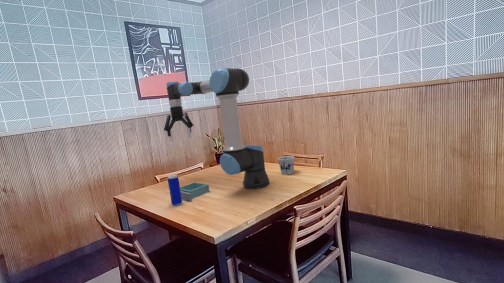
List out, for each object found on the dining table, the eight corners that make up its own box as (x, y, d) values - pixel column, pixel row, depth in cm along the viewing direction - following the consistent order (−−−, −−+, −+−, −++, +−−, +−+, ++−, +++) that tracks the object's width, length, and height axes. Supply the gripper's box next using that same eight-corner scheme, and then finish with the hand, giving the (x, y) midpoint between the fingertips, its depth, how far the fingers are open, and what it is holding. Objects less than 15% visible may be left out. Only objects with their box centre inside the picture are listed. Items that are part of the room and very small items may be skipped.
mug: (278, 175, 171) (277, 160, 169) (280, 169, 185) (278, 155, 184) (295, 174, 169) (294, 158, 168) (296, 168, 184) (294, 153, 182)
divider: (192, 200, 143) (191, 193, 143) (190, 201, 142) (189, 194, 142) (175, 196, 154) (174, 189, 153) (173, 196, 153) (172, 189, 153)
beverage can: (172, 202, 143) (168, 174, 141) (182, 201, 144) (178, 173, 142) (170, 206, 138) (166, 177, 136) (181, 205, 139) (176, 176, 137)
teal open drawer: (209, 191, 156) (208, 184, 155) (190, 198, 147) (189, 191, 146) (195, 188, 164) (195, 181, 164) (177, 195, 155) (176, 188, 155)
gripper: (188, 105, 187) (193, 136, 190) (154, 108, 169) (160, 142, 172) (195, 104, 182) (200, 136, 185) (161, 107, 164) (166, 143, 167)
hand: (180, 139), depth 178 cm, fingers open, 13 cm apart
